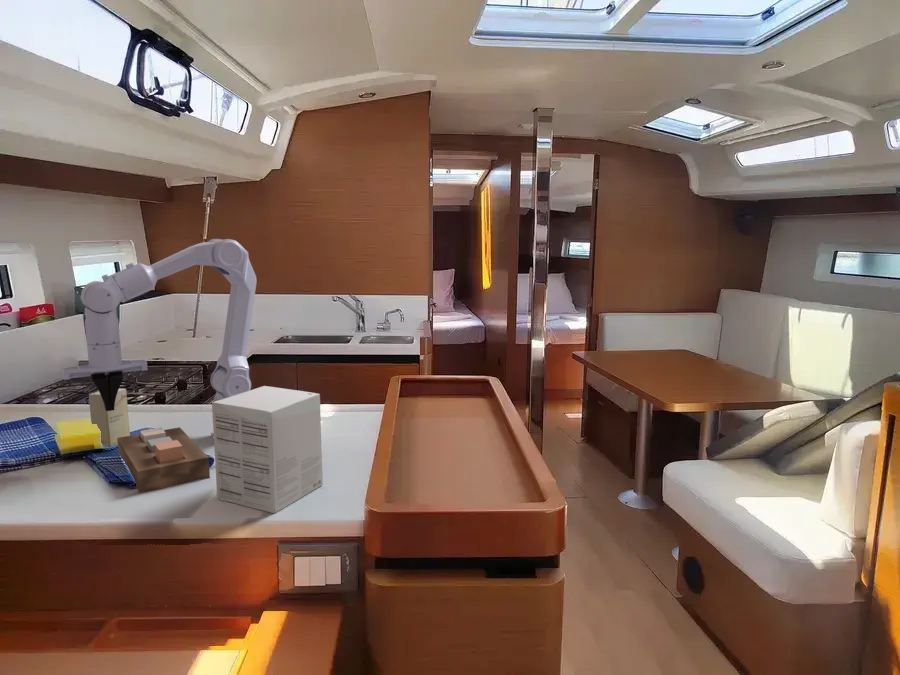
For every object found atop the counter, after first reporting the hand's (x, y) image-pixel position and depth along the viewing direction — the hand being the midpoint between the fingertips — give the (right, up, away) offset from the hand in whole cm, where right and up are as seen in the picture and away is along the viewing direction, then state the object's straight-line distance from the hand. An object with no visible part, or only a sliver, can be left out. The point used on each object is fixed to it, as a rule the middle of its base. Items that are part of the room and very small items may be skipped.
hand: (109, 409), depth 122 cm
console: (+12, -11, -2) cm, 16 cm away
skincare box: (-5, -9, +10) cm, 14 cm away
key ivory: (+7, -8, +3) cm, 11 cm away
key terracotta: (+16, -9, -8) cm, 20 cm away
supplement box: (+36, -13, -13) cm, 41 cm away
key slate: (+12, -9, -2) cm, 15 cm away
